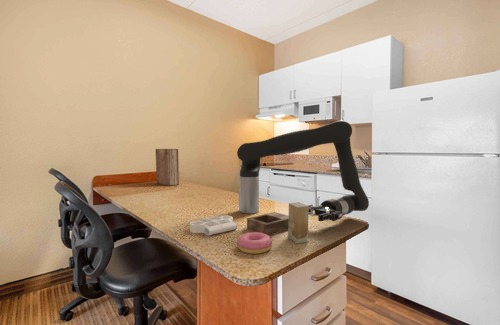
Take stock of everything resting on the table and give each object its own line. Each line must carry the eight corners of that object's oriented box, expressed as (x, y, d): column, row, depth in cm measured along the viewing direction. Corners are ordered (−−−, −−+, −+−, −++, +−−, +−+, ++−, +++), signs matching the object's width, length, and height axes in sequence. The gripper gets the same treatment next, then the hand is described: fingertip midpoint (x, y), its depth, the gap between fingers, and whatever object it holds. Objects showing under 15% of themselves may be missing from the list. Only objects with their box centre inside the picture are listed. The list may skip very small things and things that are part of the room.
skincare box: (287, 237, 89) (287, 202, 88) (298, 236, 90) (298, 201, 90) (297, 244, 83) (297, 206, 82) (308, 242, 84) (309, 205, 84)
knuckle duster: (201, 239, 88) (184, 229, 100) (244, 229, 99) (224, 220, 110) (201, 230, 88) (184, 220, 99) (244, 221, 98) (224, 213, 110)
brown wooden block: (179, 185, 213) (178, 148, 211) (168, 186, 207) (167, 149, 205) (166, 182, 232) (165, 148, 230) (156, 183, 226) (155, 148, 224)
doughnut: (271, 242, 85) (271, 230, 85) (272, 256, 74) (272, 242, 74) (239, 241, 86) (238, 229, 85) (235, 255, 75) (234, 241, 74)
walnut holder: (247, 228, 99) (246, 218, 98) (274, 221, 108) (274, 211, 108) (266, 236, 90) (266, 224, 90) (294, 227, 100) (294, 217, 100)
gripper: (319, 196, 106) (293, 201, 95) (351, 202, 95) (326, 208, 84) (318, 214, 106) (293, 221, 96) (351, 222, 95) (326, 231, 85)
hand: (308, 215), depth 90 cm, fingers open, 8 cm apart
